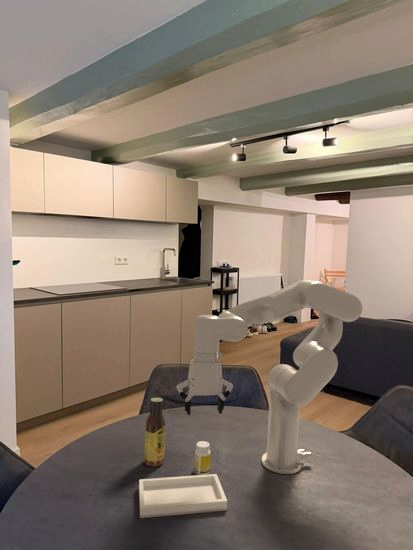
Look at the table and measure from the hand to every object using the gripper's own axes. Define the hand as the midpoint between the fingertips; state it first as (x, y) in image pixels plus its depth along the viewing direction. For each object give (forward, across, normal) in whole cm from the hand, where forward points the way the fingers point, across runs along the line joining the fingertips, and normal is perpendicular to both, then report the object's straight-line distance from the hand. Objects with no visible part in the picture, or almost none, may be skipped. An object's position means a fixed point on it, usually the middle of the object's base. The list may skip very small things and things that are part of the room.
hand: (204, 412), depth 115 cm
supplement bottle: (+18, 0, 0) cm, 18 cm away
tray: (+18, +8, +12) cm, 23 cm away
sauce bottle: (+18, +14, -7) cm, 24 cm away
